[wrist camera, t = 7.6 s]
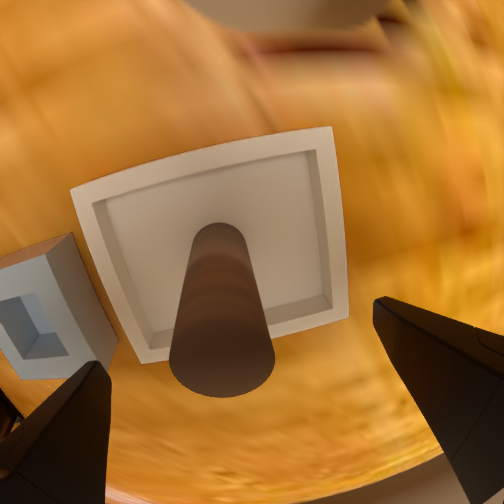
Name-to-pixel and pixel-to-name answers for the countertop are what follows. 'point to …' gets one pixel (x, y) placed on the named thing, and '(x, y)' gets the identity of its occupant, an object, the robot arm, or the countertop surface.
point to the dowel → (220, 319)
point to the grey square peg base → (51, 312)
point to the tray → (222, 211)
